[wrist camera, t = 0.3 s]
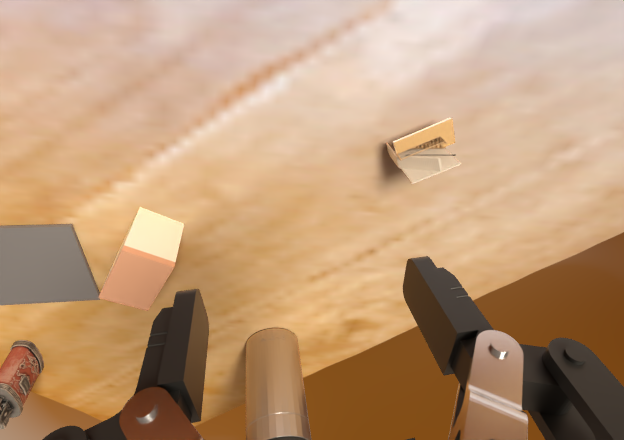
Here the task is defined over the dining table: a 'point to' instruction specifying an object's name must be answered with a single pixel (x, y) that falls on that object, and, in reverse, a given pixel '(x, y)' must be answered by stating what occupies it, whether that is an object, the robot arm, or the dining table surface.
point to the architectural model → (425, 151)
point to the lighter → (18, 378)
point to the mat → (43, 265)
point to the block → (143, 260)
